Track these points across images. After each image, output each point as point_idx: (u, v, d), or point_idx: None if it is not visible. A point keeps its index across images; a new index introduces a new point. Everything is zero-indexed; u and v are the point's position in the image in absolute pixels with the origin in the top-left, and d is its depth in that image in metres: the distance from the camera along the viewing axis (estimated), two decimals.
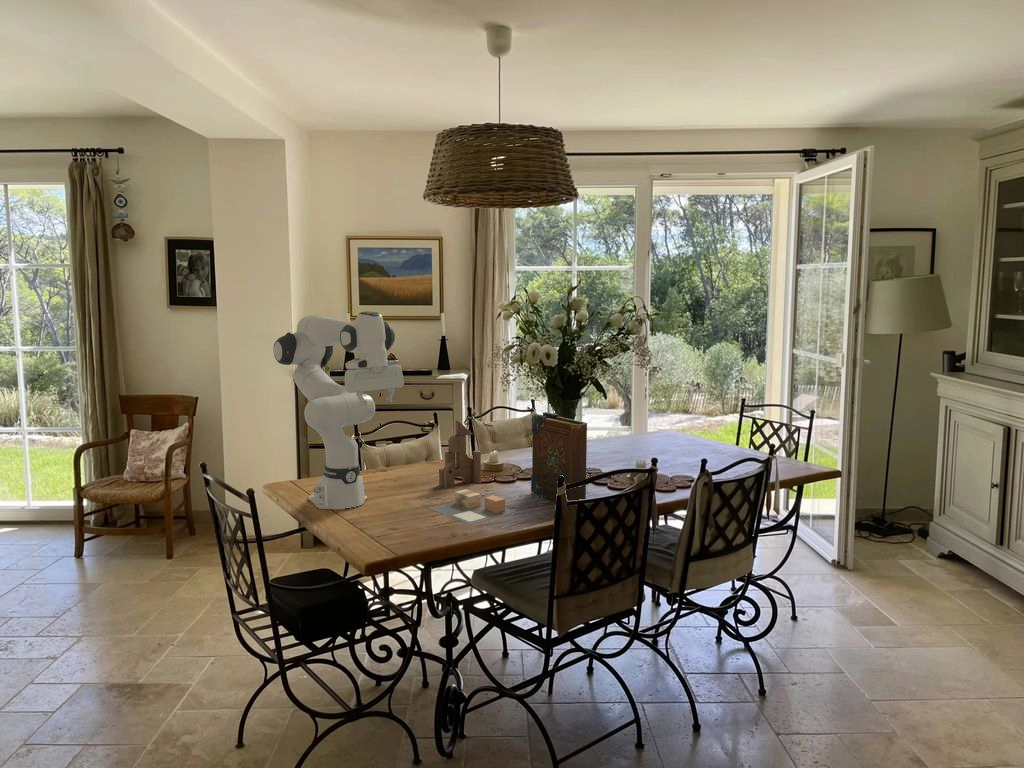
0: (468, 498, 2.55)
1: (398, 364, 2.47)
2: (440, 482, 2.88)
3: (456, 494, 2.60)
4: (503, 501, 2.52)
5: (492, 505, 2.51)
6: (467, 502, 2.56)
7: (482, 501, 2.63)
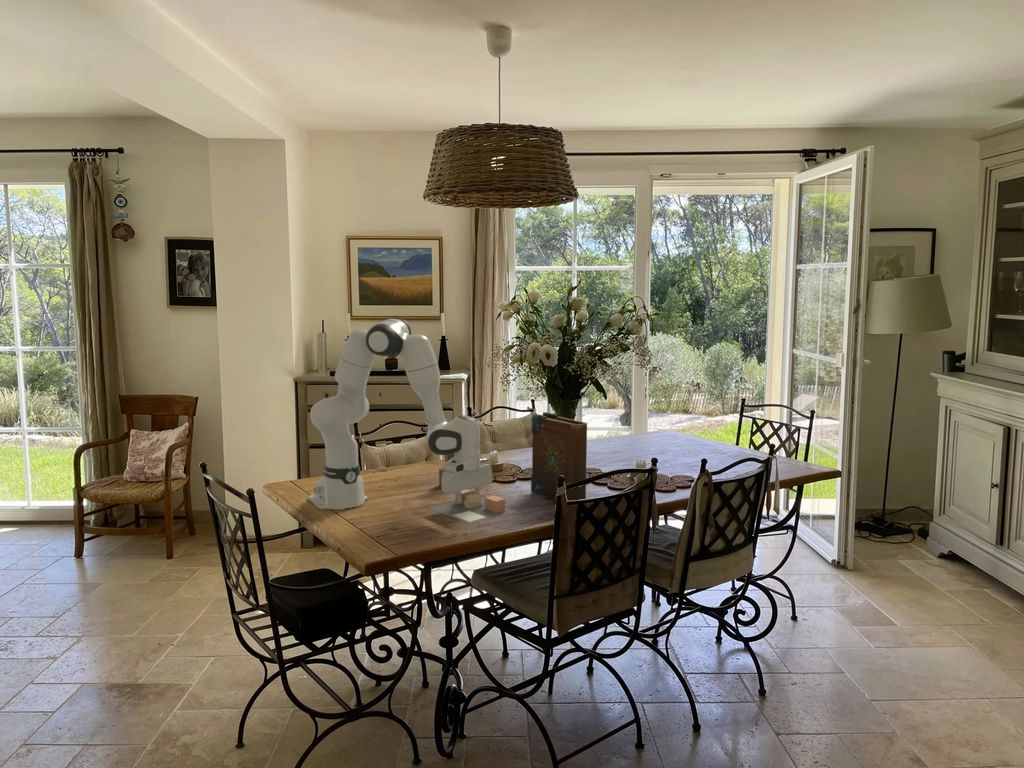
0: (468, 498, 2.55)
1: (488, 462, 2.64)
2: (440, 482, 2.88)
3: None
4: (503, 501, 2.52)
5: (492, 505, 2.51)
6: (467, 503, 2.56)
7: (482, 501, 2.63)
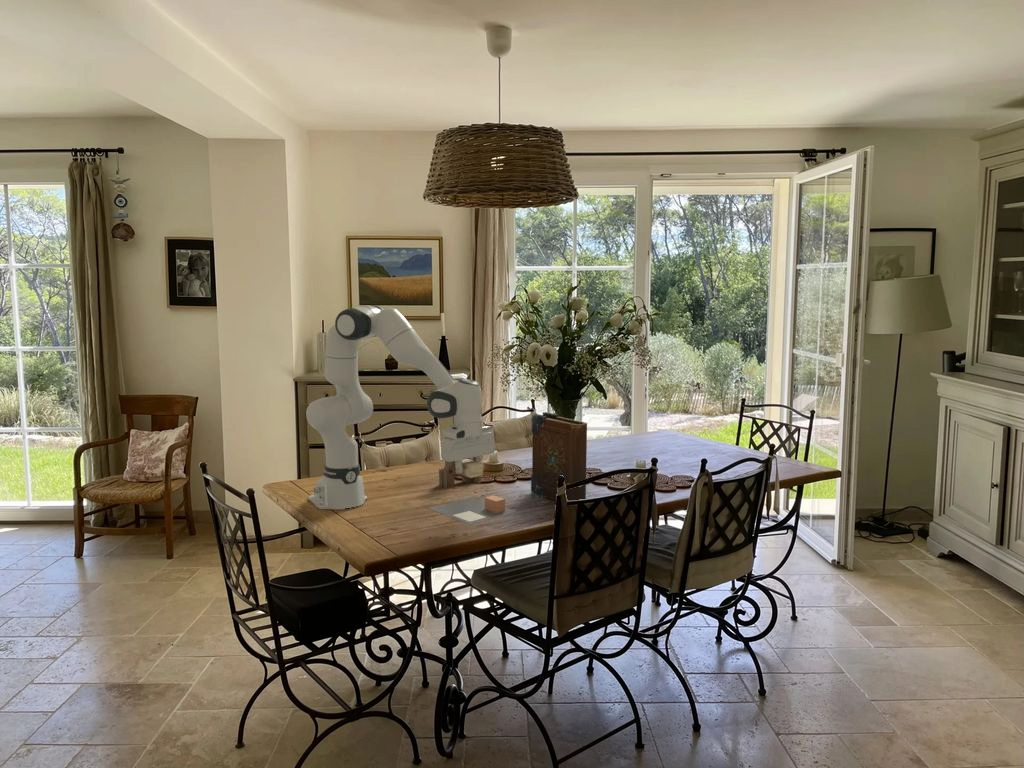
0: (469, 467, 2.40)
1: (491, 430, 2.48)
2: (440, 482, 2.88)
3: None
4: (503, 501, 2.52)
5: (492, 505, 2.51)
6: (468, 472, 2.41)
7: (482, 501, 2.63)
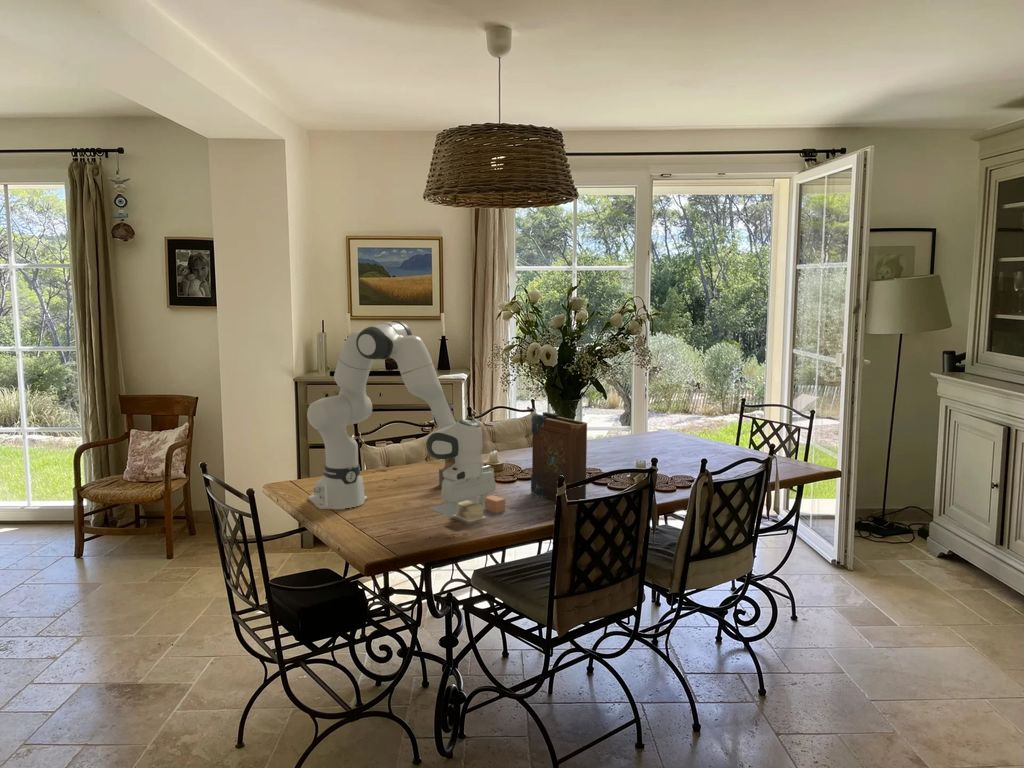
0: (470, 510, 2.42)
1: (491, 469, 2.50)
2: (440, 482, 2.88)
3: None
4: (503, 501, 2.52)
5: (492, 505, 2.51)
6: (468, 515, 2.43)
7: None
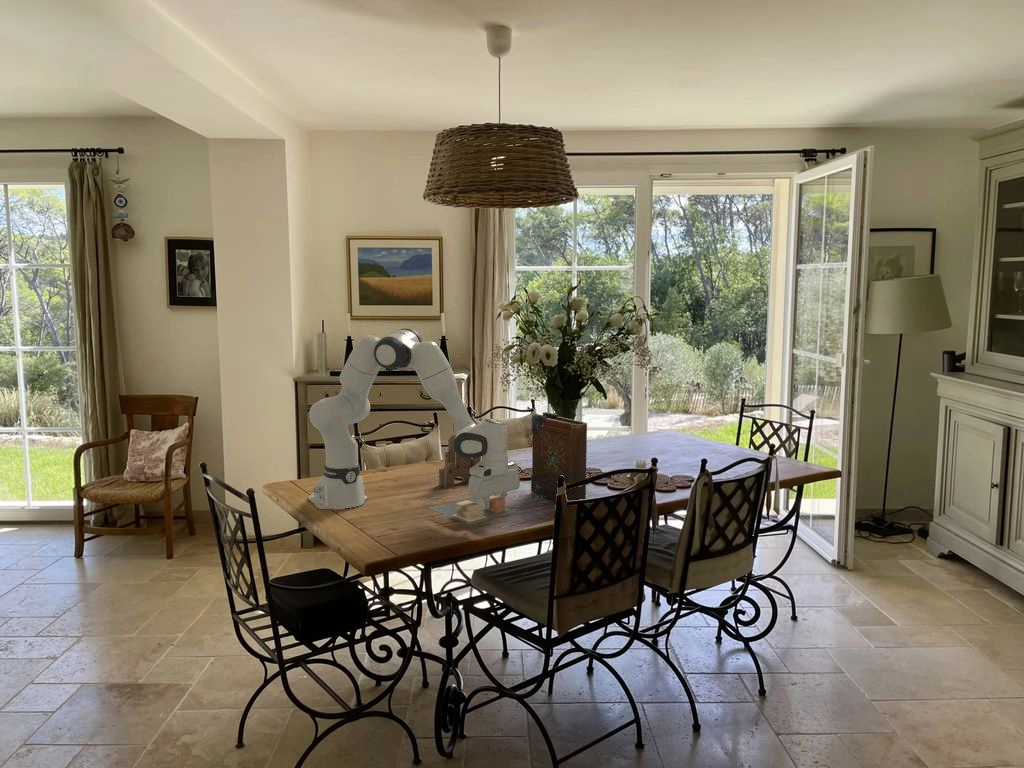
0: (470, 510, 2.42)
1: (515, 467, 2.58)
2: (440, 482, 2.88)
3: (457, 505, 2.47)
4: (503, 501, 2.52)
5: (492, 505, 2.51)
6: (468, 515, 2.43)
7: (482, 501, 2.63)
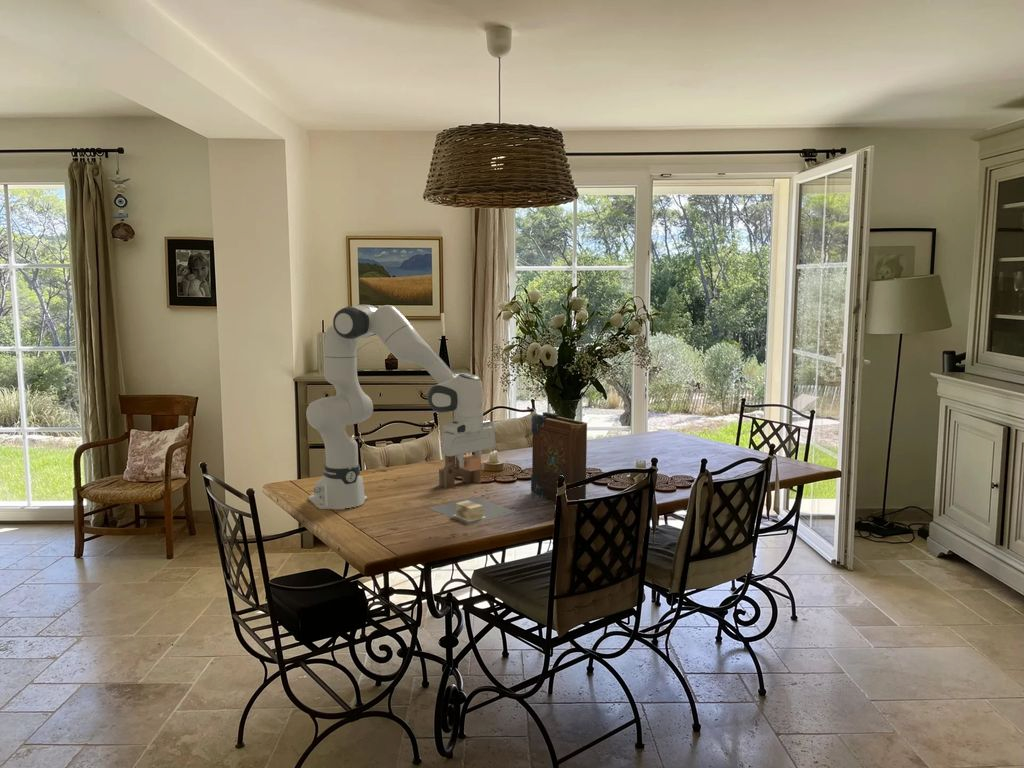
0: (470, 510, 2.42)
1: (491, 425, 2.48)
2: (440, 482, 2.88)
3: (457, 505, 2.47)
4: (478, 459, 2.43)
5: (467, 463, 2.42)
6: (468, 515, 2.43)
7: (482, 501, 2.63)
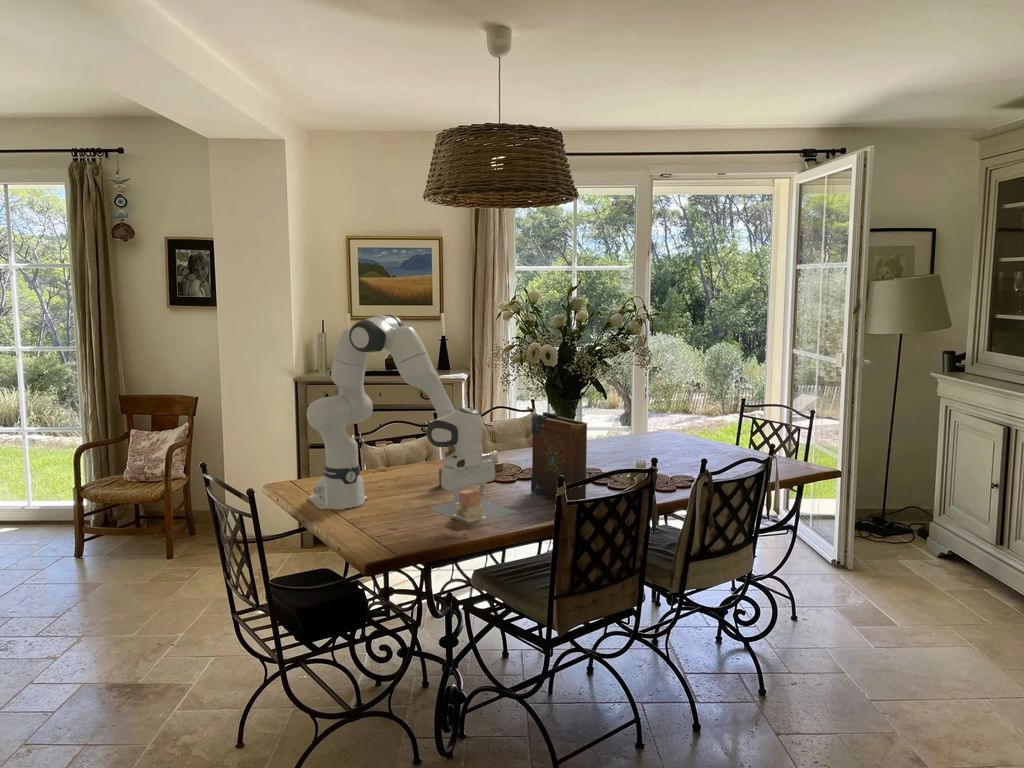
0: (470, 510, 2.42)
1: (491, 457, 2.50)
2: (440, 482, 2.88)
3: (457, 505, 2.47)
4: (478, 495, 2.44)
5: (466, 500, 2.43)
6: (468, 515, 2.43)
7: (482, 501, 2.63)
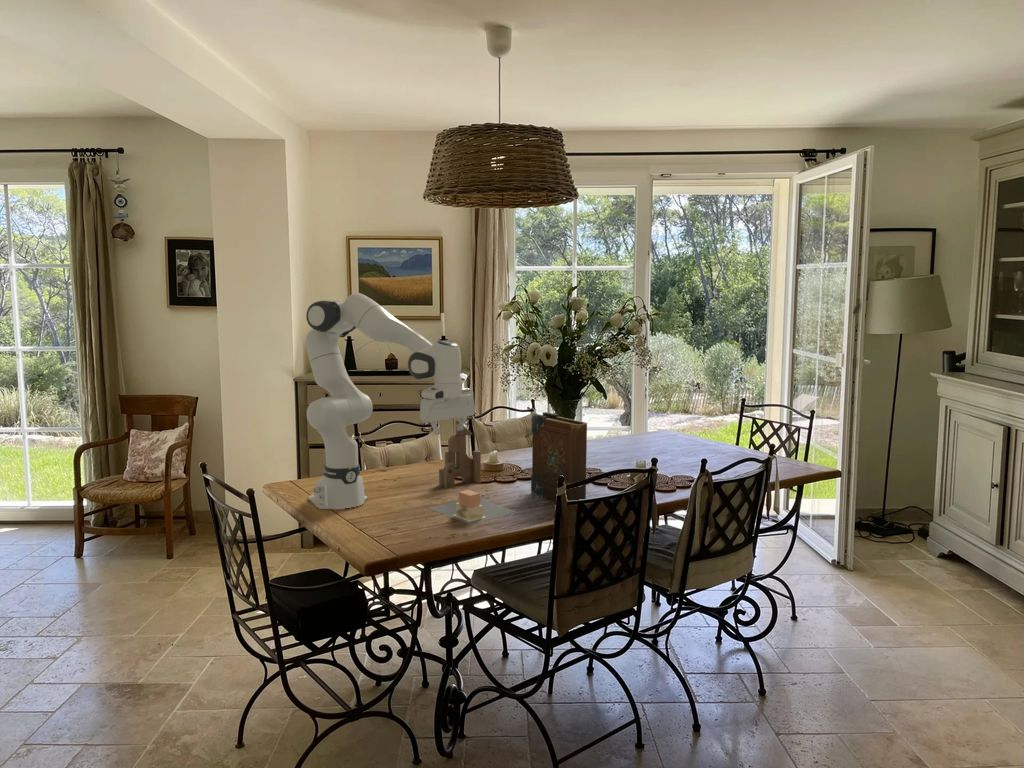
0: (470, 510, 2.42)
1: (470, 392, 2.50)
2: (440, 482, 2.88)
3: (457, 505, 2.47)
4: (478, 495, 2.44)
5: (466, 500, 2.43)
6: (468, 515, 2.43)
7: (482, 501, 2.63)
